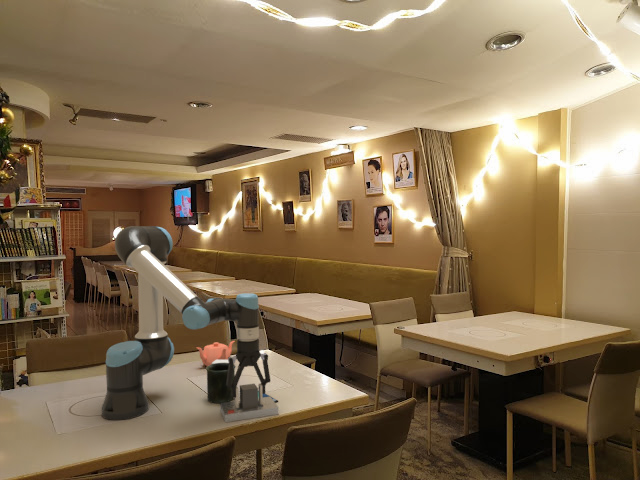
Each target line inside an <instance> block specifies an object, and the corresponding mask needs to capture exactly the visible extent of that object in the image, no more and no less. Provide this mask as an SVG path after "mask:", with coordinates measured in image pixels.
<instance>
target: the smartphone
mask: <svg viewBox="0 0 640 480" xmlns="http://www.w3.org/2000/svg"><path fill="white" fill-rule="evenodd" d="M263 397H271V398H272V399H273V401H274V402H275V403H276V404H277V403H279V400H278V399H276V398H274V397H272V396H271V395H268V393H265V394H263ZM258 398H259V389H258Z"/></svg>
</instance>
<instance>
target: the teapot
mask: <svg viewBox="0 0 640 480" xmlns="http://www.w3.org/2000/svg"><path fill="white" fill-rule="evenodd" d="M235 342H236V341H235V340H232V341H230V342H229V344H228V345H226V344H224V343H220V342H213V343H212V344H207V345H205V346H204V347H203V348H202V347H197V346H196V349H197V350H198V351H199V358H200V359H201V361H202V365H204V366H206V367H207V366H209V365H211V363H212V362H214V361H215V360H228V357H231V355H232V352H233V344H234V343H235Z"/></svg>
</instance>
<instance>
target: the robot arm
mask: <svg viewBox="0 0 640 480" xmlns="http://www.w3.org/2000/svg"><path fill="white" fill-rule="evenodd" d="M173 246H174V242H173V238H172V236H171V234H170V232H168V230H167V229H165V228H163V227H160V226H155V225H154V226H153V225H149V226H148V225H147V226H146V225H144V226H142V225H141V226H140V225H137V226H136V225H131V226H127V227H125V228H123V229H121V230H120V231H119V232H118V233H117V235H116V237H115V239H114V250H115V253H116V254H117V256H118V258H119V259H120V260H121V261H122V262H123V264H125V266H127V267H128V268H130V269H132V268H133V269H135V271H136V272H137V273H138V275H137V276H138V287H137V288H138V332H137V333H136V334H135V335H134V340H126V341H124V342H123V341H121V342H118V343H116V344H113V345H111V346H110V347H109V348H108V349H107V350H106V354H105V358H106V359H105V373H106V374H105V375H106V393H105V397H104V399H103V403H102V406H101V417H102V418H104V419H106V420H112V421H118V420H121V421H122V420H127V419H132V418H136V417H139V416H141V415H143V414H145V413H146V412H148V410H149V401H148V397H147V395H146V393H145V392H146V391H145V389H144V381H143V379H144V378H143V377H144V376H145V375H148V374H150V373H152V372H155V371H157V370H158V371H159V370H161V369H162V368H164V367H166V366H168V365H169V364H170V363H171V361H172V359H173V357H174V353H175V346H174V342H172V340H171V338H170V337H169V336H168V334H169V333H167V331H166V330H164V299H166V300H167V301H168V302H169V303H170V304H171V305H172V306H173V307H174V308H175V309H176V310H177V311H179V313H181V314H182V316H181V317H182V321H183V325H184V326H185V327H186V328H187V329H189V330H199V329H203V328H205V327H208V326H210V325H215V324H217V323H219V322H224V321H226V322H227V321H228V322H229V321H230V322H231V321H232V322H236V339H237V341H236V355H234V356H230V357H228V361H229V367H228V375H227V382H226V385H227V387H228V388H232V397H233V399H234V401H235V406H236V408H239V401H240V389H239V387H238V384H239V381H240V378H241V375H242V373H243V371H244V369H245V368H247V367H253V368H254V370H255V373H256V375H257V377H258V380H259V382H260V383H258V390H259V403H260V405H261V404H263V394H266V385H267V384H268V383H271V374H270V370H269V369H270V367H269V362H268V360H269V355H268V354H267V353H266V352H264V353H261V352H260V340H259V337H260V327H259V326H260V325H259V308H260V306H259V297H258V295H257V294H255V293H251V292H247V293H245V292H244V293H238V294H237V295H236V297H235V298H233V299H231V298H220V297H215V298H208V299H207V301H204V300H203V299H201V298H200V297H199V296H198V295H197V294H196V293H195V292H194V291H193V290H192V289H191V288H189V287H188V286H187V285H186V284H185V283H184V282H183V281H182V280H181V279H180V278H179V277H178V276H177V275H176V274H175V273H173V272H172V271H171V270H170V268H168V267H167V266H166V265H165V264H167V261H168V260H167V258H168V257H167V256H168V255H169V254H171V252H172V250H173ZM259 360H262V365H263V371H264V372H263V373H264V376H263V374H262V371H261V369H260V367H259V364H258V361H259ZM236 361H237V362H238V366H237V370H236V372H235V377H234V380H233V382H232V375H233V367H234V365H235V363H236ZM231 382H232V383H231Z"/></svg>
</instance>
